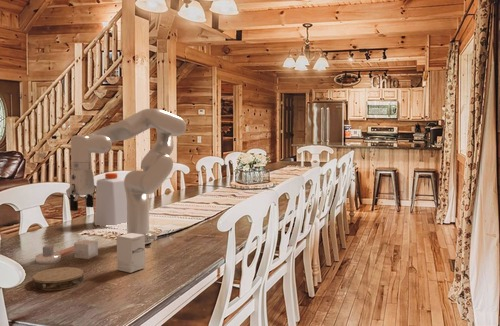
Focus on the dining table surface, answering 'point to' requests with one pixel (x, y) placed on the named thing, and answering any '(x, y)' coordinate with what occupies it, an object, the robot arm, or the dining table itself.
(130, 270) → the supplement box
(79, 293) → the dining table surface
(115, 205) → the plastic bottle
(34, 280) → the tambourine
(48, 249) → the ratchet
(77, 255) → the white cube
